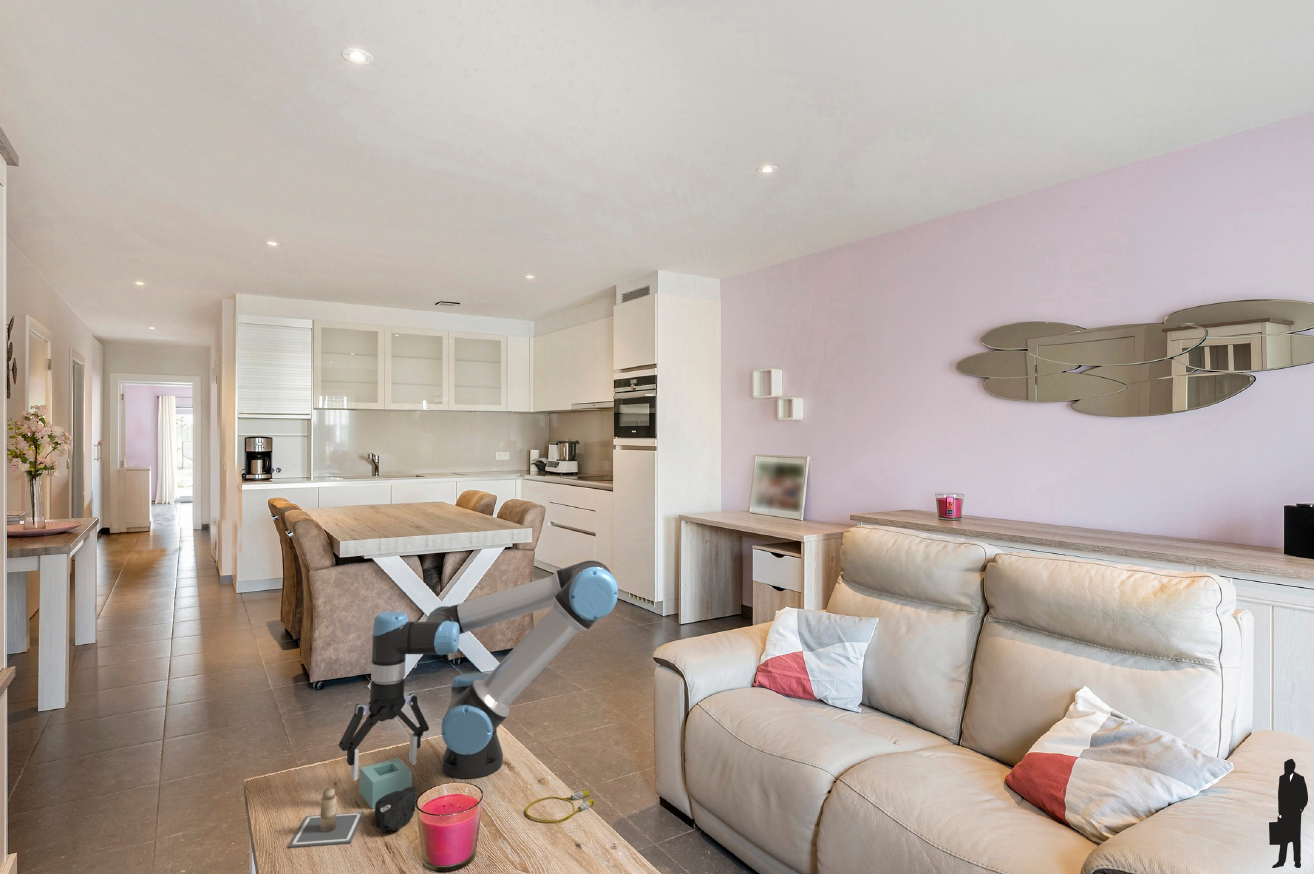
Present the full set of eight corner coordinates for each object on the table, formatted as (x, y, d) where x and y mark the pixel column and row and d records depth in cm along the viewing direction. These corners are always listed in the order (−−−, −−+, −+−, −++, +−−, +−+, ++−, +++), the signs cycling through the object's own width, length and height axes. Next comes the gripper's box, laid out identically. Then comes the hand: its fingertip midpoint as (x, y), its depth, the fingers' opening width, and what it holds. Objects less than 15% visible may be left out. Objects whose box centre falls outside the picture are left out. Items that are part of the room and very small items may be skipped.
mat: (364, 813, 158) (364, 811, 158) (350, 843, 146) (350, 841, 146) (306, 817, 156) (306, 815, 156) (288, 847, 144) (288, 845, 144)
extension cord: (595, 823, 156) (596, 814, 156) (523, 827, 154) (523, 818, 154) (593, 796, 168) (593, 788, 168) (526, 799, 166) (526, 791, 166)
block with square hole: (397, 782, 172) (398, 757, 172) (411, 796, 166) (412, 770, 166) (359, 793, 167) (360, 767, 167) (372, 808, 160) (372, 781, 160)
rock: (426, 825, 153) (426, 798, 153) (383, 838, 148) (384, 810, 148) (411, 807, 161) (412, 781, 161) (370, 818, 156) (371, 791, 156)
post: (337, 824, 152) (338, 786, 153) (333, 831, 149) (334, 793, 150) (322, 825, 152) (323, 787, 152) (318, 832, 149) (319, 794, 149)
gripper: (432, 666, 177) (429, 751, 177) (326, 684, 161) (322, 778, 161) (445, 674, 172) (441, 761, 171) (336, 694, 155) (332, 791, 155)
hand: (383, 770), depth 166 cm, fingers open, 13 cm apart
